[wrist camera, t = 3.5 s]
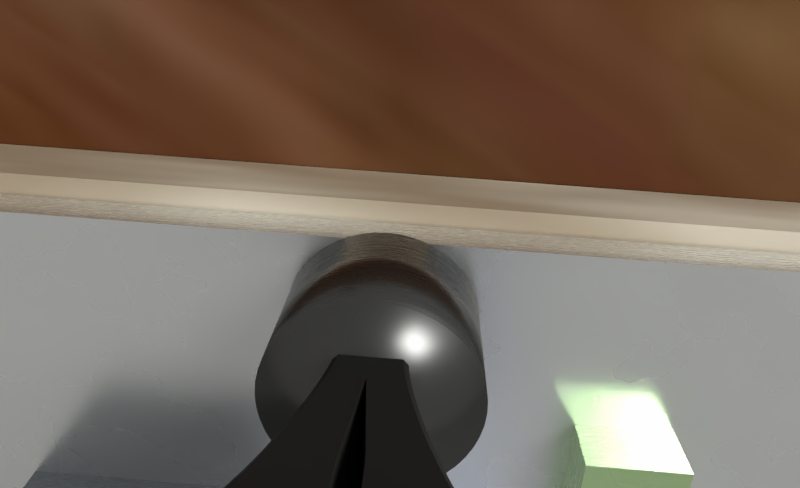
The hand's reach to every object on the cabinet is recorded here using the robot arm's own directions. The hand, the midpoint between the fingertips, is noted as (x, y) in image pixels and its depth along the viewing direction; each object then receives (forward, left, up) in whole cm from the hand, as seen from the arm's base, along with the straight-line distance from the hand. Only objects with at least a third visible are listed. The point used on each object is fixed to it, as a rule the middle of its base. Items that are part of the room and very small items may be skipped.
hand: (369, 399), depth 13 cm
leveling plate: (-5, 0, -4) cm, 6 cm away
